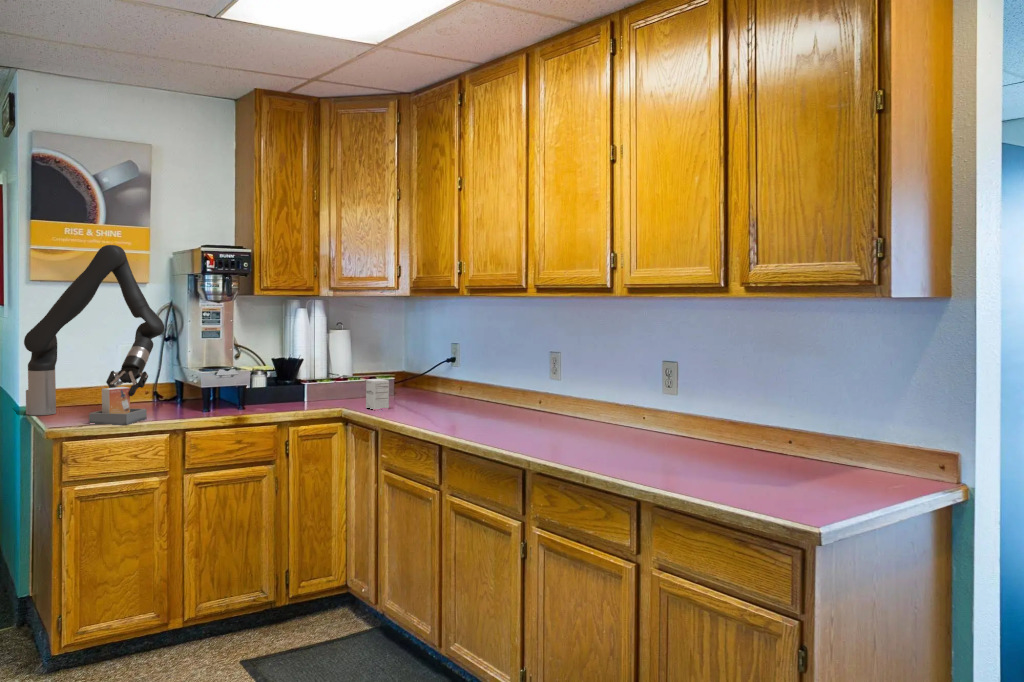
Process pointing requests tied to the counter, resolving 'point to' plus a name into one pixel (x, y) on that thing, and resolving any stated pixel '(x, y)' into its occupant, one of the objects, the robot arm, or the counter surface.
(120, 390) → the small box
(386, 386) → the supplement box
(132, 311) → the robot arm
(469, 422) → the counter surface
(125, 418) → the grey tray
